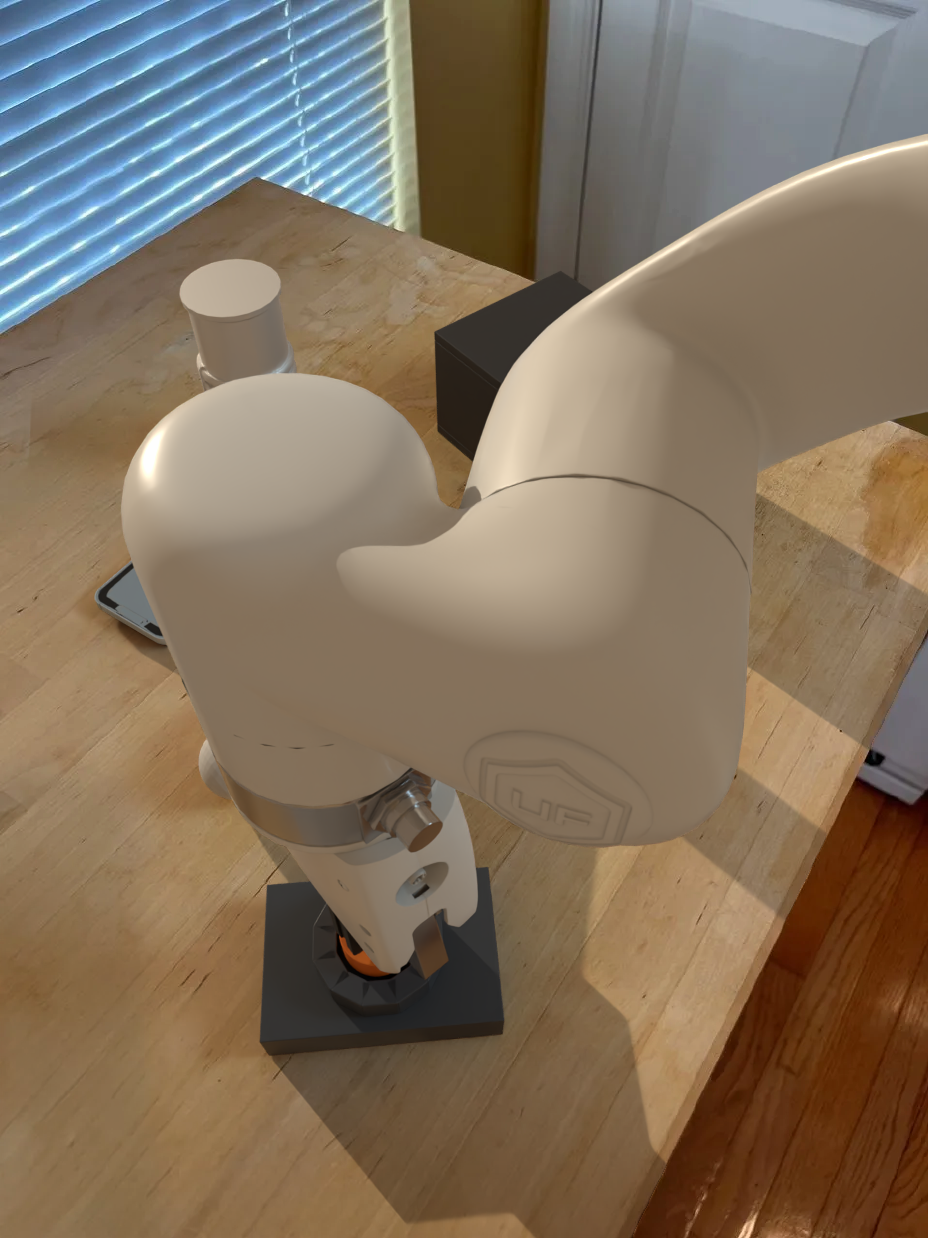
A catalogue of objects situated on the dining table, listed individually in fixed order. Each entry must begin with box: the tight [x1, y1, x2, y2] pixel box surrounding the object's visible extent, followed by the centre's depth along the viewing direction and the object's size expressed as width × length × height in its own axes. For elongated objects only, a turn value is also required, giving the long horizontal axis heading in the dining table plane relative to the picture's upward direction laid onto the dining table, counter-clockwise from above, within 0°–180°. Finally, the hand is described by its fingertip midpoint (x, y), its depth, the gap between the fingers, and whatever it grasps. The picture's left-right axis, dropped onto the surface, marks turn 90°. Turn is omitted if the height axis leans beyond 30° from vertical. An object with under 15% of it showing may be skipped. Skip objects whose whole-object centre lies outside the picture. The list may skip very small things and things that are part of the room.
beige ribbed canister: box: [178, 258, 298, 392], centre depth 69 cm, size 7×7×15 cm
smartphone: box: [94, 559, 167, 645], centre depth 68 cm, size 7×1×15 cm
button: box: [339, 936, 391, 977], centre depth 47 cm, size 4×4×2 cm
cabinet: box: [433, 270, 594, 462], centre depth 72 cm, size 15×13×10 cm
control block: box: [259, 866, 505, 1057], centre depth 49 cm, size 12×8×4 cm, turn 95°
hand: (372, 923), depth 45 cm, fingers closed
